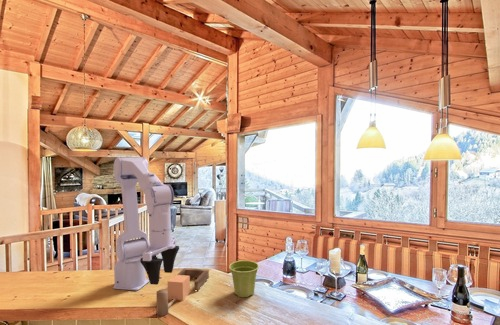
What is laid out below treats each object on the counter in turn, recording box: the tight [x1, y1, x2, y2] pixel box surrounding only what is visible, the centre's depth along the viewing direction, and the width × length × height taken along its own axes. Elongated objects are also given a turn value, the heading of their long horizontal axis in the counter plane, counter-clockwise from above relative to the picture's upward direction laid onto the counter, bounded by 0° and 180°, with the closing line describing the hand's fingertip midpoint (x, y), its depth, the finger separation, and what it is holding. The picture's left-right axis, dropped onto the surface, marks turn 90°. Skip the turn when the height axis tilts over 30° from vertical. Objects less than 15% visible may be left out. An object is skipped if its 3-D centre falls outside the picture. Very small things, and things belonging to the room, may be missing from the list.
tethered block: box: [156, 274, 191, 317], centre depth 83 cm, size 5×14×6 cm, turn 168°
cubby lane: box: [176, 267, 210, 291], centre depth 96 cm, size 9×10×3 cm
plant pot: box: [229, 259, 260, 298], centre depth 88 cm, size 9×9×9 cm
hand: (161, 277), depth 77 cm, fingers open, 7 cm apart
